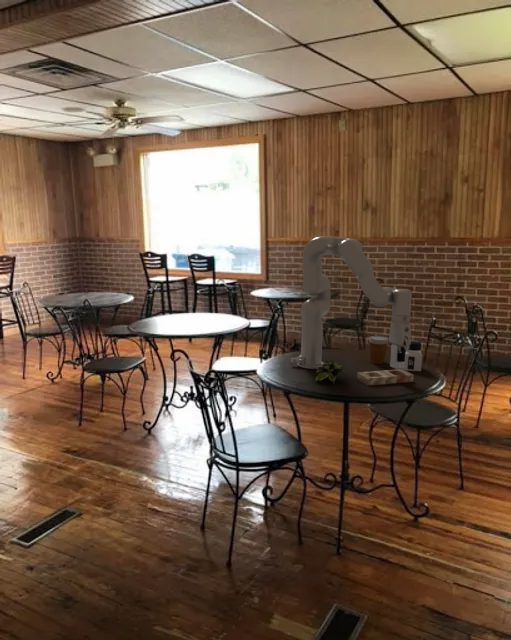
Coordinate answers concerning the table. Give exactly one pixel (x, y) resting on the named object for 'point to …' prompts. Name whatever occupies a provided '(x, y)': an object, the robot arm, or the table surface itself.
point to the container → (413, 357)
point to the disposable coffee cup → (378, 348)
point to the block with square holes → (384, 377)
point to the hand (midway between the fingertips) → (397, 359)
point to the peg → (396, 357)
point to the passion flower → (329, 370)
